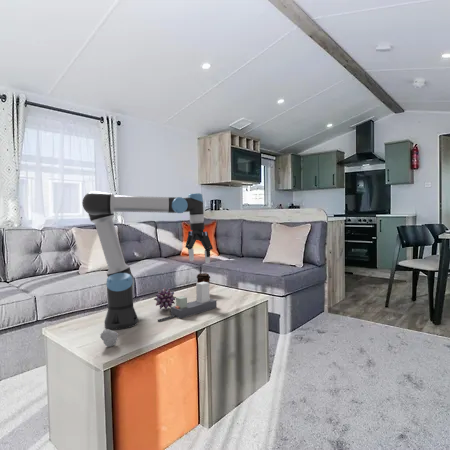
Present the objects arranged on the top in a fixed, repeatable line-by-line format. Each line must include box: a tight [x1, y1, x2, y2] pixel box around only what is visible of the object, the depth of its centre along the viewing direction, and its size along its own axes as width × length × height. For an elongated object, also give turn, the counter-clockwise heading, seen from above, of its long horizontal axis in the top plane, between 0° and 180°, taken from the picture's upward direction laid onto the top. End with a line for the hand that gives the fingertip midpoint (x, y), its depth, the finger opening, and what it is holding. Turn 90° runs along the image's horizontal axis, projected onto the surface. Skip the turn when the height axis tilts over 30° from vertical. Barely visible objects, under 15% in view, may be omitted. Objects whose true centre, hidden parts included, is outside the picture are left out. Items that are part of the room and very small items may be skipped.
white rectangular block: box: [195, 282, 211, 303], centre depth 182 cm, size 5×5×11 cm
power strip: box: [157, 298, 218, 323], centre depth 175 cm, size 34×8×5 cm, turn 132°
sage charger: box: [175, 295, 188, 309], centre depth 172 cm, size 4×4×5 cm
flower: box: [153, 287, 176, 311], centre depth 182 cm, size 12×12×12 cm
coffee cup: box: [196, 272, 211, 284], centre depth 210 cm, size 9×8×13 cm
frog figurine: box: [99, 328, 119, 348], centre depth 136 cm, size 6×7×7 cm
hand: (199, 262), depth 182 cm, fingers open, 13 cm apart
